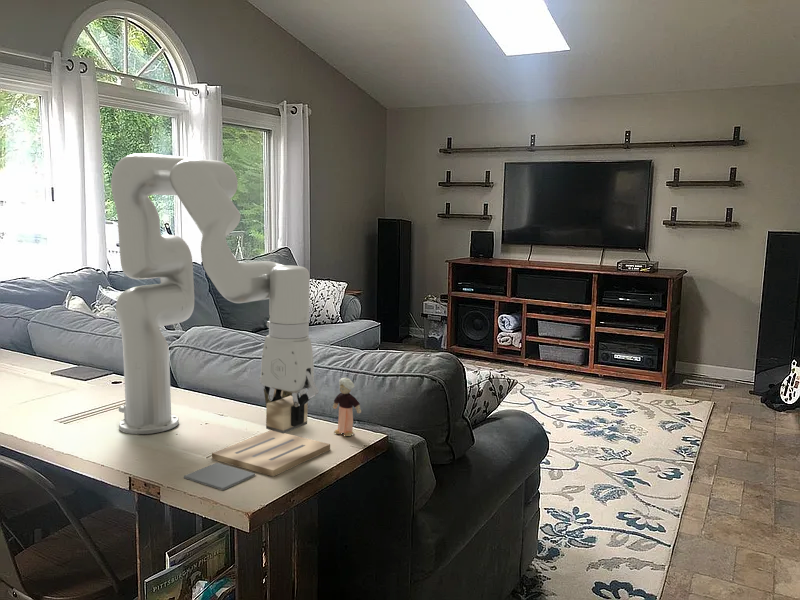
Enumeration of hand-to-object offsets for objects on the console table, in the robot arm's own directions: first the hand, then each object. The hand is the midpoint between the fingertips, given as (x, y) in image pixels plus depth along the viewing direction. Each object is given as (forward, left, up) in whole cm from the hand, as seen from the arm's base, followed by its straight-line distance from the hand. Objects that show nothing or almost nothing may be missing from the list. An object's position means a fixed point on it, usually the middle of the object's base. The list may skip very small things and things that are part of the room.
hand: (287, 420), depth 136 cm
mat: (-4, -14, -8) cm, 16 cm away
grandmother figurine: (+1, +18, -8) cm, 20 cm away
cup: (-17, +17, -8) cm, 25 cm away
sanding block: (0, 0, -1) cm, 1 cm away
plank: (-4, 0, -8) cm, 9 cm away
